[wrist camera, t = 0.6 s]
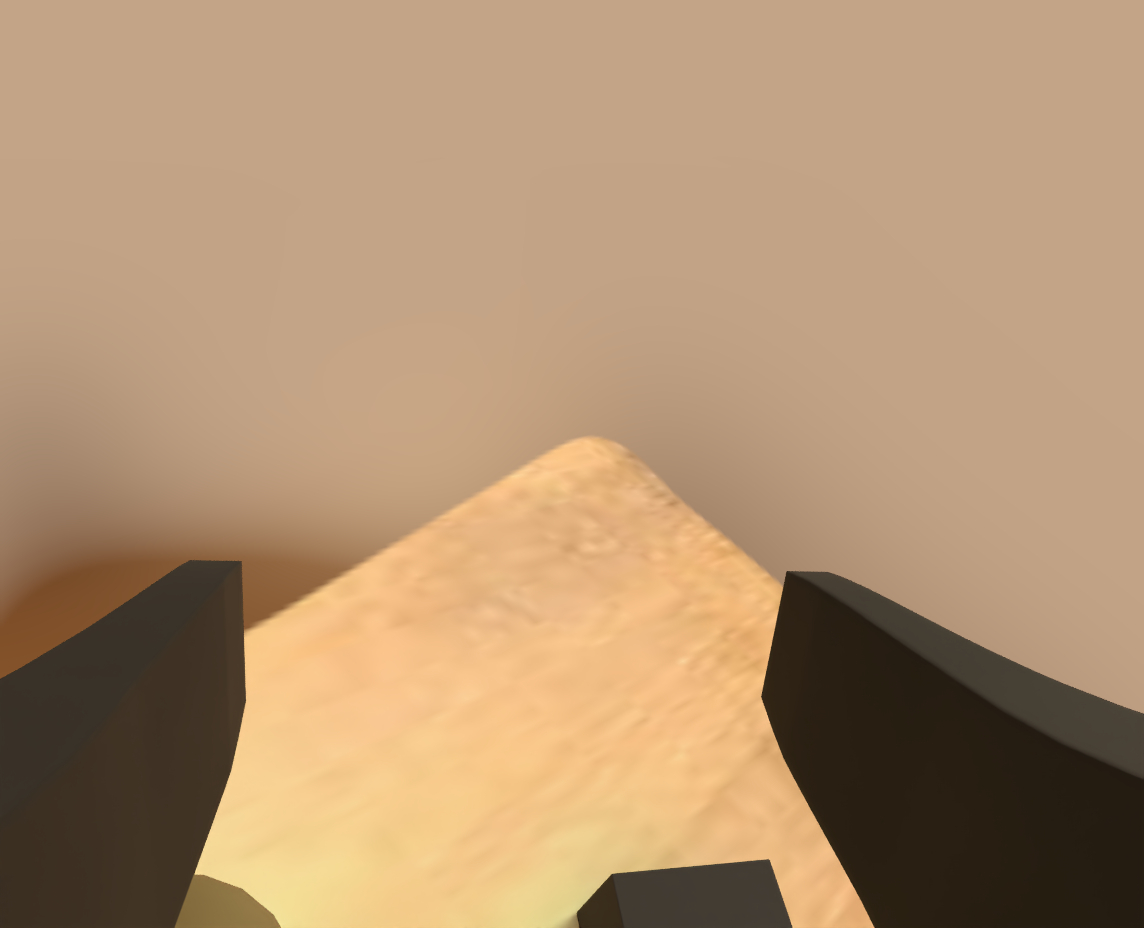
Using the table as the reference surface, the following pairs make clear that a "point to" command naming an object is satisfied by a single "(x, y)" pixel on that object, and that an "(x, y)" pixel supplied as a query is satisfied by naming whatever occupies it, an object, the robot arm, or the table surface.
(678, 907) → the middle pad
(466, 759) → the table surface
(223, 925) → the olive game pawn
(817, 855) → the table surface
